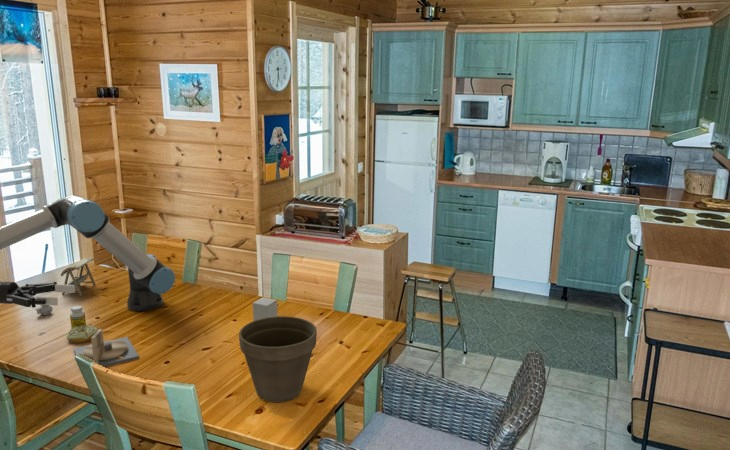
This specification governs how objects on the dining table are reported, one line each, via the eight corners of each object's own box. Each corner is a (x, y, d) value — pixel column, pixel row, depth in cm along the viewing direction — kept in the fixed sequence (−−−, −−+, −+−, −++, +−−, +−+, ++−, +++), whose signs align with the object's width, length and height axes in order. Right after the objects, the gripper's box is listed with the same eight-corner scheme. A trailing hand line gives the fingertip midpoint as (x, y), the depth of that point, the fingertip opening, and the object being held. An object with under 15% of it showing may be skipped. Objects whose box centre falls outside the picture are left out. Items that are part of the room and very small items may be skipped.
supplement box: (278, 328, 234) (277, 299, 231) (268, 335, 228) (267, 305, 225) (263, 324, 237) (262, 296, 234) (253, 331, 231) (252, 302, 228)
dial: (92, 342, 215) (90, 318, 213) (133, 342, 216) (131, 317, 214) (73, 364, 199) (70, 337, 196) (117, 363, 200) (115, 337, 198)
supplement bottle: (85, 325, 233) (83, 304, 231) (87, 330, 229) (85, 308, 226) (70, 328, 230) (68, 306, 228) (72, 333, 226) (70, 311, 224)
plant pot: (262, 367, 202) (261, 310, 197) (327, 378, 195) (327, 320, 190) (226, 403, 179) (223, 340, 173) (298, 417, 172) (298, 352, 167)
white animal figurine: (55, 313, 244) (53, 296, 243) (40, 318, 239) (38, 301, 237) (49, 310, 247) (47, 293, 245) (33, 315, 242) (31, 298, 240)
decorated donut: (62, 344, 217) (61, 335, 216) (74, 332, 227) (73, 323, 226) (90, 344, 218) (89, 335, 217) (101, 332, 228) (100, 323, 227)
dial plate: (127, 339, 222) (127, 336, 221) (139, 358, 207) (138, 355, 206) (73, 350, 211) (73, 347, 211) (81, 372, 196) (81, 368, 196)
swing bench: (78, 285, 279) (74, 256, 276) (97, 285, 279) (94, 257, 275) (61, 295, 265) (57, 265, 261) (81, 296, 265) (78, 266, 261)
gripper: (21, 291, 208) (81, 293, 210) (-19, 315, 184) (49, 317, 186) (20, 271, 207) (80, 274, 209) (-20, 293, 182) (48, 296, 184)
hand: (66, 294), depth 197 cm, fingers open, 13 cm apart
